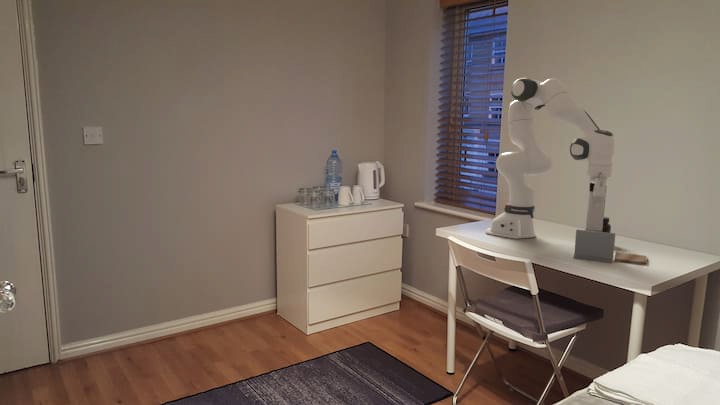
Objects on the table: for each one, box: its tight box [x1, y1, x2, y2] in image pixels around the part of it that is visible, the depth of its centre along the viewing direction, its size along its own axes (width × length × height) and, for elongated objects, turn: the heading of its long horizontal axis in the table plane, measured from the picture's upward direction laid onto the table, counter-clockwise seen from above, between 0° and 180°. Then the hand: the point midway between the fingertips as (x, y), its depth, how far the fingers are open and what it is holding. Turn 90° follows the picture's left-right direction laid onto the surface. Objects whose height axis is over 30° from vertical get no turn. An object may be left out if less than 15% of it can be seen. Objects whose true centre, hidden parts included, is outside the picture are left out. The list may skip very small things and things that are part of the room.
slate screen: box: [573, 228, 616, 264], centre depth 206 cm, size 14×4×11 cm, turn 62°
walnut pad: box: [613, 251, 647, 266], centre depth 208 cm, size 11×11×1 cm
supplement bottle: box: [602, 216, 612, 233], centre depth 231 cm, size 7×7×12 cm
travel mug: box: [585, 182, 607, 232], centre depth 213 cm, size 6×7×20 cm
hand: (595, 205), depth 213 cm, fingers closed on travel mug, 6 cm apart
